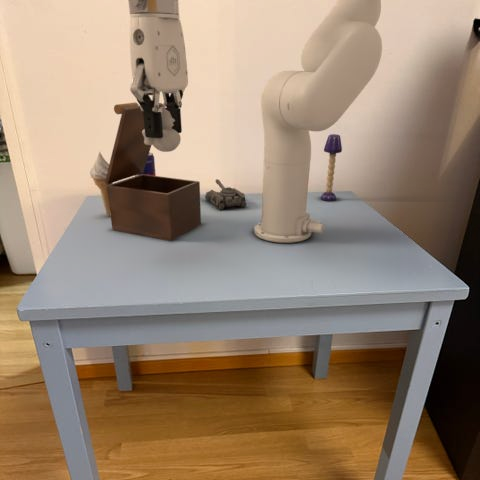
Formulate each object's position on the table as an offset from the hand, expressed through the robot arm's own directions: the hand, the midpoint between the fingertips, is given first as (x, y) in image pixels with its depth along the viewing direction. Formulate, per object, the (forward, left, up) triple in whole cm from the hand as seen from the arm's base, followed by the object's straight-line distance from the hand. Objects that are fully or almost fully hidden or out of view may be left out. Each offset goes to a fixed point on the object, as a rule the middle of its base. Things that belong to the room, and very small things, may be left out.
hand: (164, 133), depth 78 cm
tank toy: (+7, -36, -22) cm, 43 cm away
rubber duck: (+1, 0, -3) cm, 3 cm away
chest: (+12, -12, -22) cm, 28 cm away
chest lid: (+16, -12, -5) cm, 21 cm away
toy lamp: (-16, -53, -22) cm, 60 cm away
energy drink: (+27, -29, -22) cm, 46 cm away
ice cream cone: (+27, -13, -22) cm, 38 cm away
